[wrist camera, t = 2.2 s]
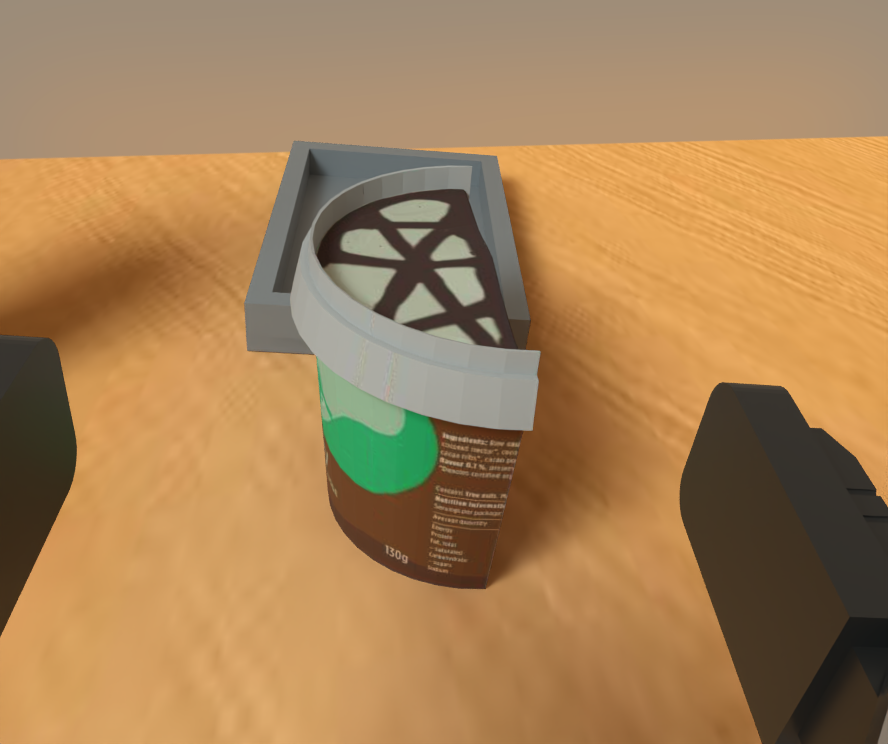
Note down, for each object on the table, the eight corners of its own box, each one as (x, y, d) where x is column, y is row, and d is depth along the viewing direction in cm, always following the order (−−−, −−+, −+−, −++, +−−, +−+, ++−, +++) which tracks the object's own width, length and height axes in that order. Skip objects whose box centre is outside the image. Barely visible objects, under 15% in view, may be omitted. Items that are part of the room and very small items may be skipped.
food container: (296, 384, 35) (293, 152, 29) (444, 384, 36) (469, 159, 30) (289, 637, 25) (281, 365, 19) (493, 627, 26) (545, 365, 20)
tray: (491, 193, 52) (496, 155, 50) (522, 365, 37) (530, 320, 36) (294, 179, 51) (293, 140, 49) (247, 350, 36) (244, 303, 35)
